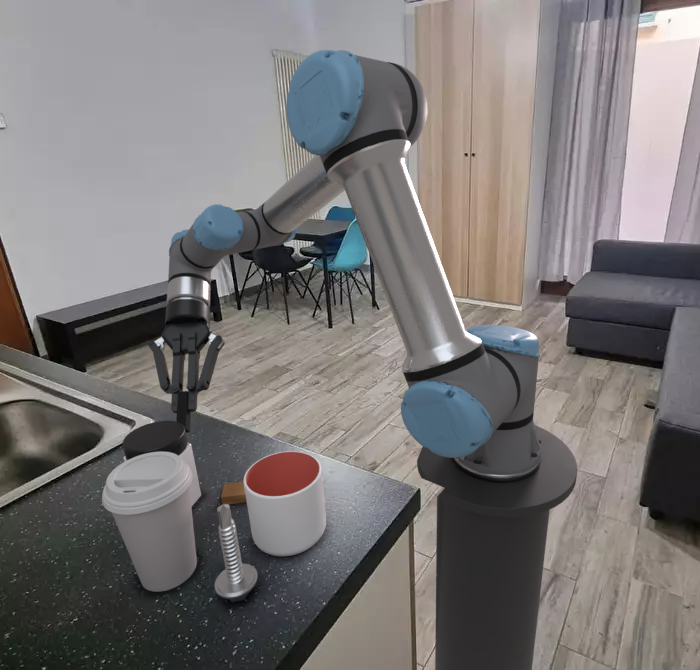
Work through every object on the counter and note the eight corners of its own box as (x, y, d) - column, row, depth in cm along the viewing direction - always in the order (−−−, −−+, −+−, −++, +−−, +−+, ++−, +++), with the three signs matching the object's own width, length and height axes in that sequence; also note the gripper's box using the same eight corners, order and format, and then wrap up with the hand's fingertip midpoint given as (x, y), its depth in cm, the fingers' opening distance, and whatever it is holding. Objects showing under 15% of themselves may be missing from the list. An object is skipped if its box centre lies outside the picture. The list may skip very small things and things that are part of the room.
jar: (133, 529, 68) (113, 457, 64) (140, 494, 75) (123, 426, 71) (201, 513, 71) (186, 443, 67) (201, 480, 78) (189, 415, 74)
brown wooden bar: (312, 481, 77) (312, 473, 77) (312, 494, 74) (312, 485, 74) (225, 491, 75) (224, 483, 75) (222, 505, 72) (220, 497, 72)
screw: (267, 581, 59) (245, 615, 55) (232, 572, 61) (208, 605, 56) (254, 494, 55) (229, 523, 50) (217, 487, 56) (189, 515, 52)
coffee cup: (108, 588, 59) (77, 487, 53) (169, 534, 67) (148, 441, 62) (168, 613, 55) (141, 507, 50) (225, 553, 64) (207, 456, 58)
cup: (292, 499, 73) (285, 442, 70) (341, 526, 68) (337, 466, 64) (237, 540, 66) (226, 479, 62) (288, 573, 60) (279, 509, 57)
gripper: (228, 313, 95) (228, 431, 85) (158, 318, 93) (149, 440, 83) (220, 294, 88) (218, 420, 79) (144, 299, 86) (132, 429, 77)
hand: (183, 430), depth 81 cm, fingers closed
